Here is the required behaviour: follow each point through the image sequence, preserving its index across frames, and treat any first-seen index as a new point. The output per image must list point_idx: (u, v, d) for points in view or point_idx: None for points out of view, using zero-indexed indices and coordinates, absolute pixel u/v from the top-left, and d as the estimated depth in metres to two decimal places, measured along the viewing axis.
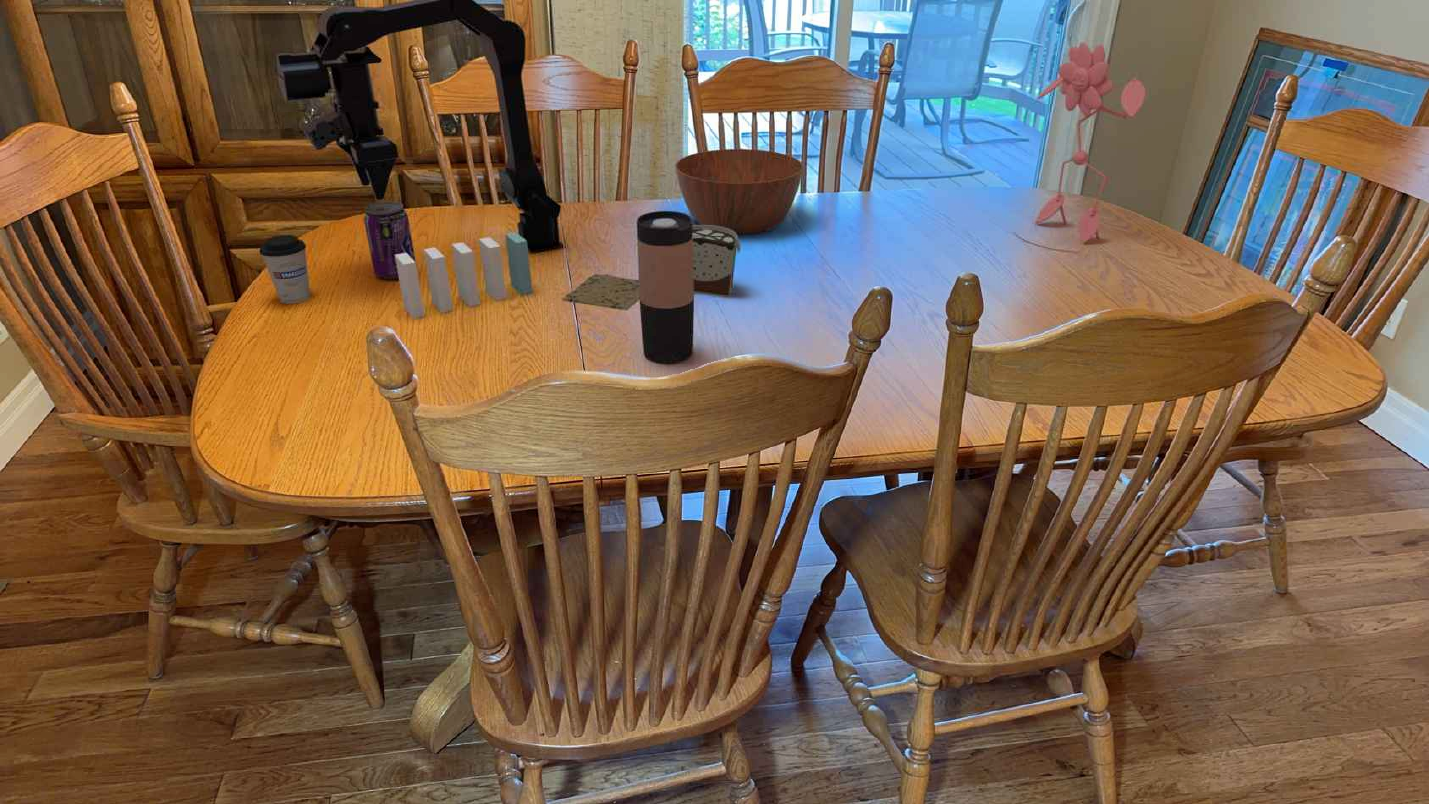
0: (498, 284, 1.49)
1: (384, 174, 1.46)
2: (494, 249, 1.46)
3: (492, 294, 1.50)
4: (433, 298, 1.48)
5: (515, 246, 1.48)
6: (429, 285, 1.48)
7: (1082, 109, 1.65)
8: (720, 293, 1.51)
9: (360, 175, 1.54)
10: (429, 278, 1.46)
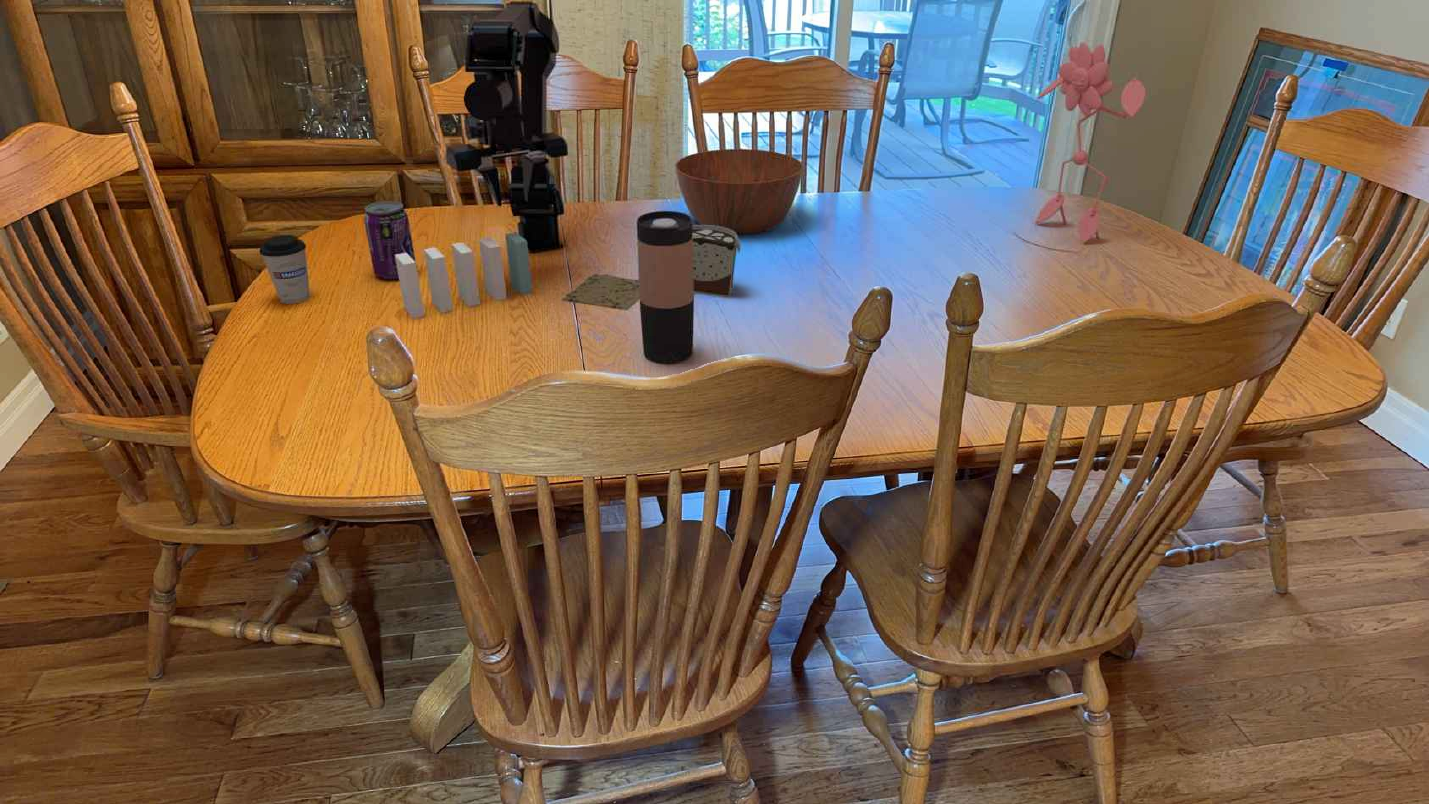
0: (499, 284, 1.49)
1: (490, 183, 1.47)
2: (494, 249, 1.46)
3: (492, 294, 1.50)
4: (433, 298, 1.48)
5: (516, 246, 1.48)
6: (429, 285, 1.48)
7: (1082, 109, 1.65)
8: (720, 293, 1.51)
9: (524, 189, 1.53)
10: (429, 278, 1.46)
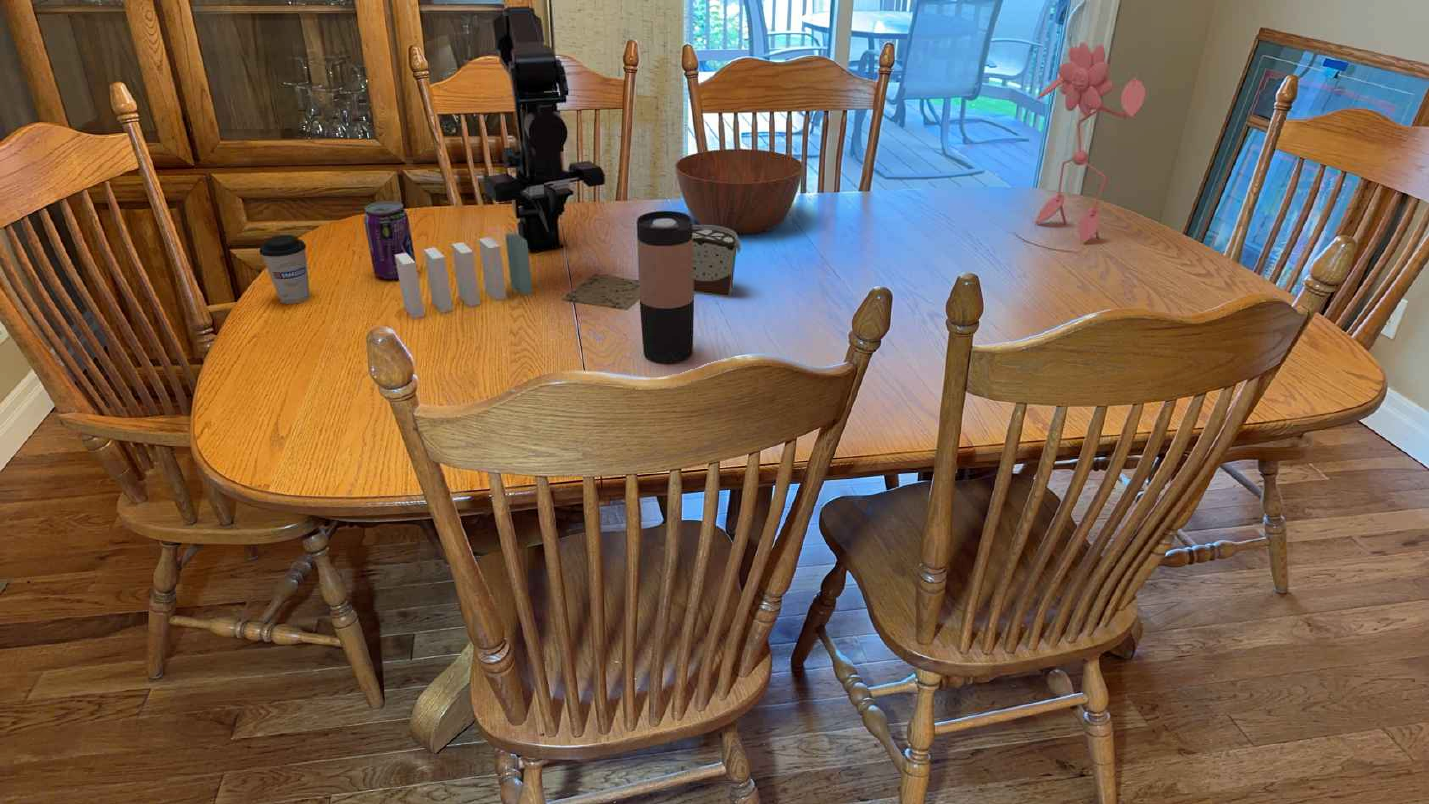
0: (498, 284, 1.49)
1: (541, 210, 1.49)
2: (494, 249, 1.46)
3: (492, 294, 1.50)
4: (433, 298, 1.48)
5: (516, 246, 1.48)
6: (429, 285, 1.48)
7: (1082, 109, 1.65)
8: (720, 293, 1.51)
9: None
10: (429, 278, 1.46)
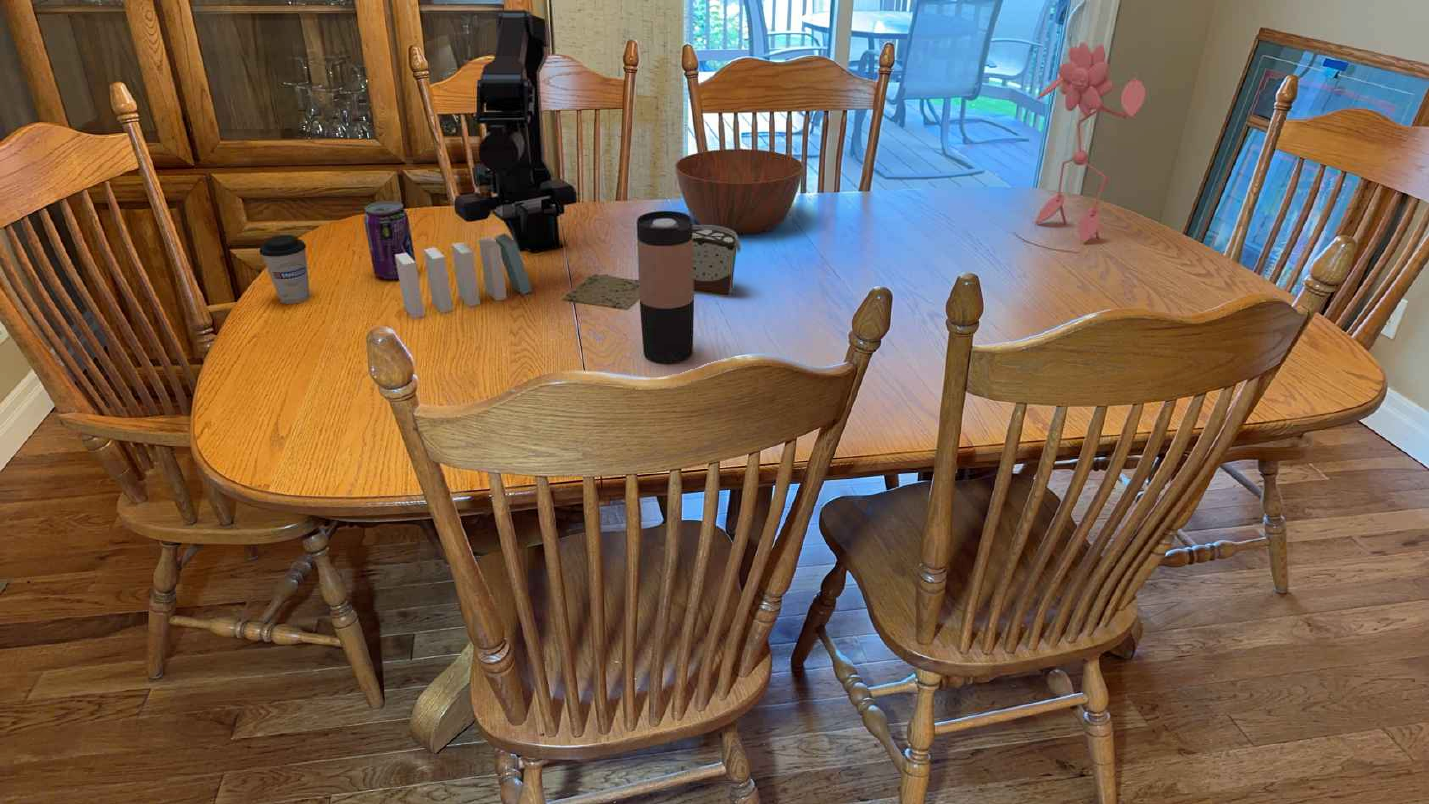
0: (499, 284, 1.49)
1: (512, 229, 1.47)
2: (494, 249, 1.46)
3: (492, 294, 1.50)
4: (433, 298, 1.48)
5: (506, 249, 1.47)
6: (429, 285, 1.48)
7: (1082, 109, 1.65)
8: (720, 293, 1.51)
9: None
10: (429, 278, 1.46)
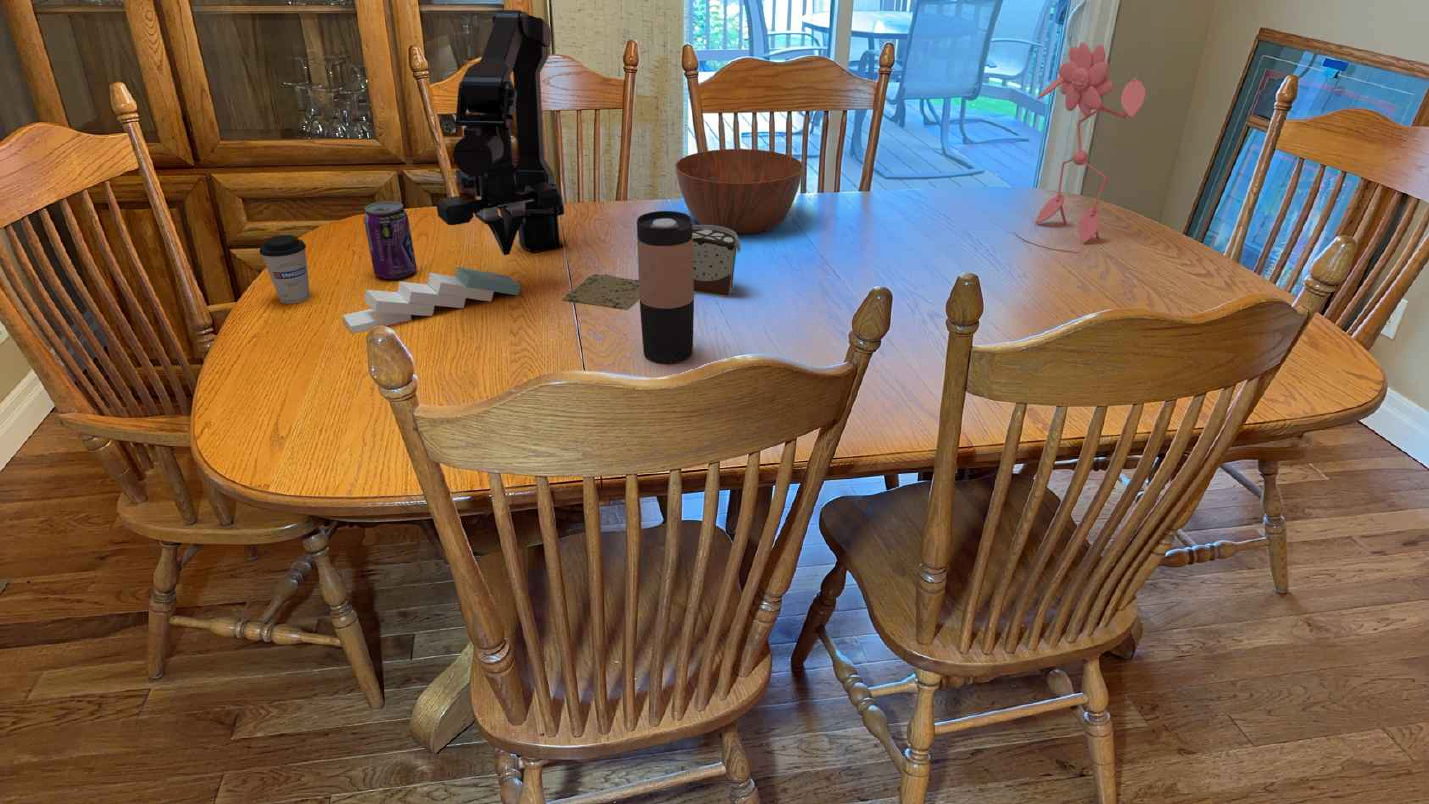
0: (476, 294, 1.47)
1: (496, 233, 1.46)
2: (441, 289, 1.43)
3: None
4: None
5: (469, 286, 1.46)
6: None
7: (1082, 109, 1.65)
8: (720, 293, 1.51)
9: None
10: None
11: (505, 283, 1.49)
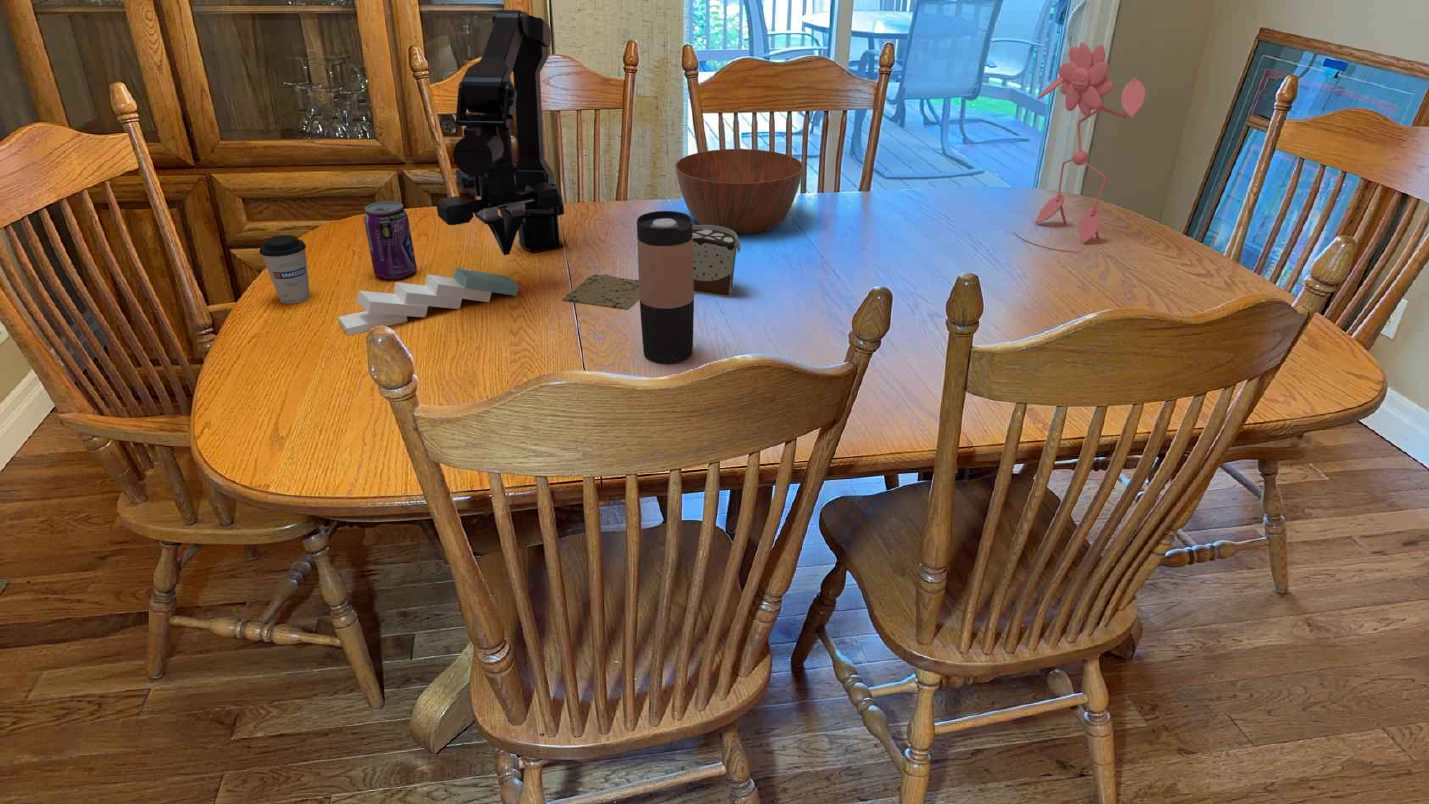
0: (474, 295, 1.47)
1: (496, 233, 1.46)
2: (438, 290, 1.43)
3: None
4: None
5: (468, 287, 1.46)
6: None
7: (1082, 109, 1.65)
8: (720, 293, 1.51)
9: None
10: None
11: (503, 284, 1.49)
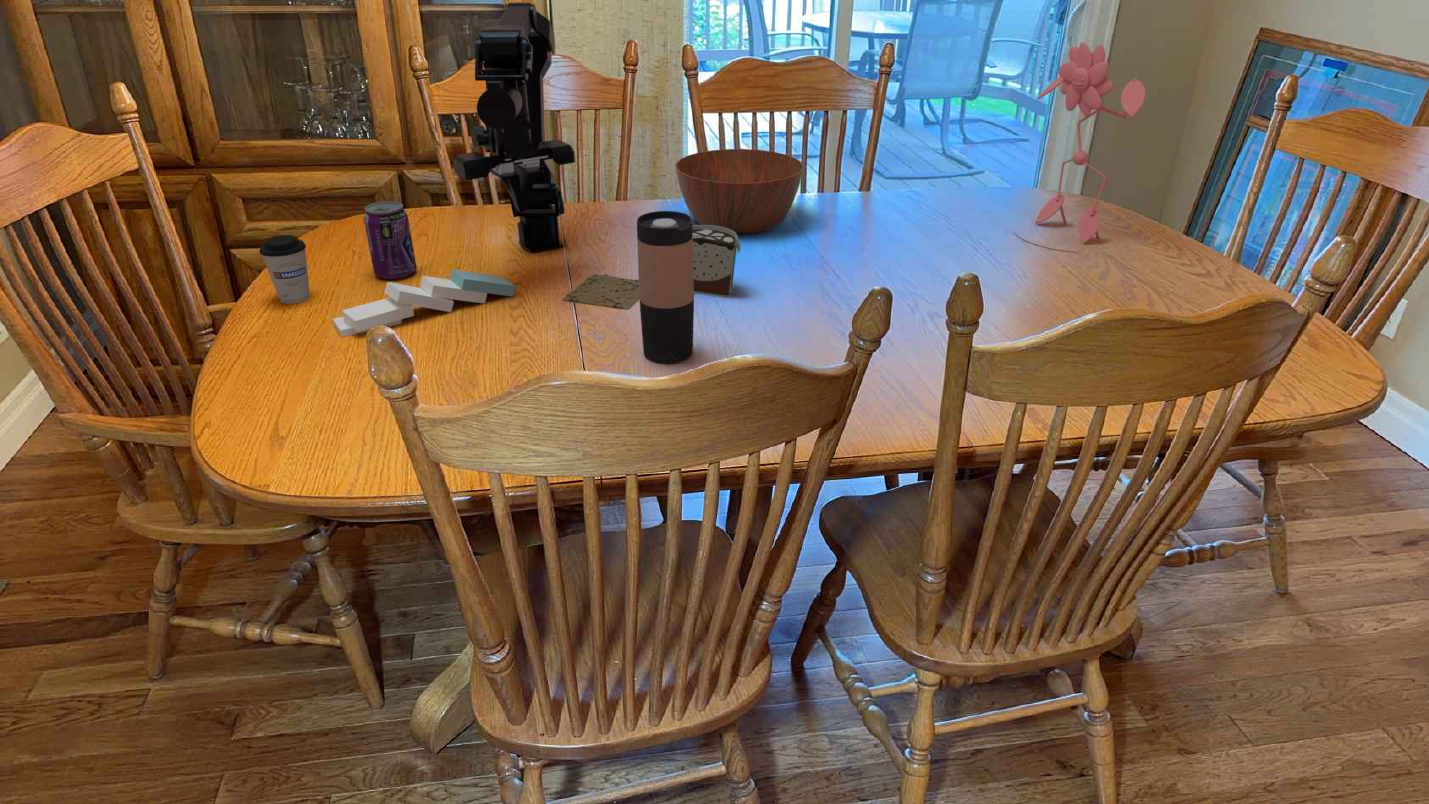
0: (470, 296, 1.47)
1: (511, 189, 1.48)
2: (434, 292, 1.43)
3: None
4: None
5: (465, 289, 1.46)
6: None
7: (1082, 109, 1.65)
8: (720, 293, 1.51)
9: None
10: None
11: (500, 285, 1.49)
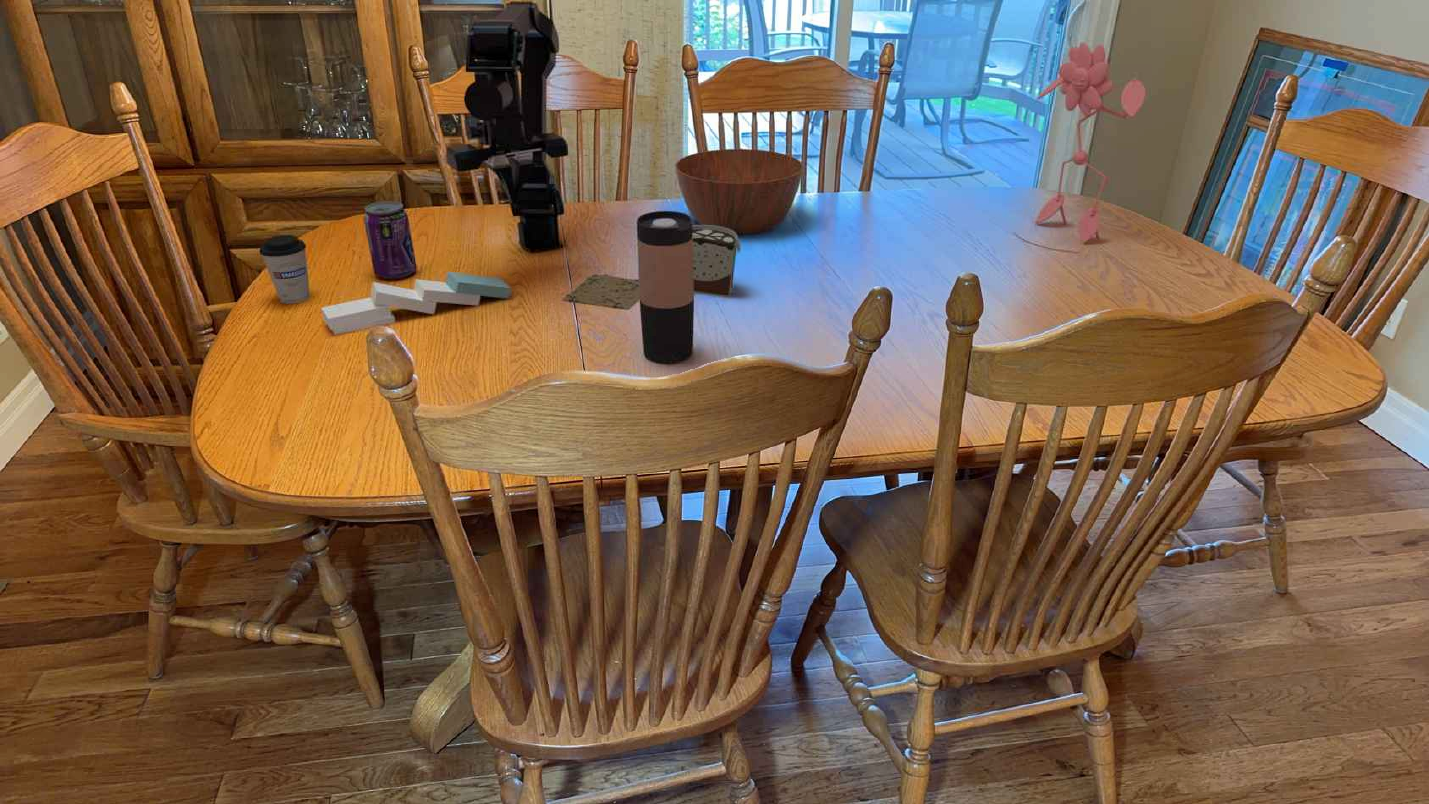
0: (462, 299, 1.46)
1: (504, 181, 1.49)
2: (425, 296, 1.43)
3: None
4: None
5: (459, 292, 1.45)
6: None
7: (1082, 109, 1.65)
8: (720, 293, 1.51)
9: None
10: None
11: (495, 287, 1.48)
